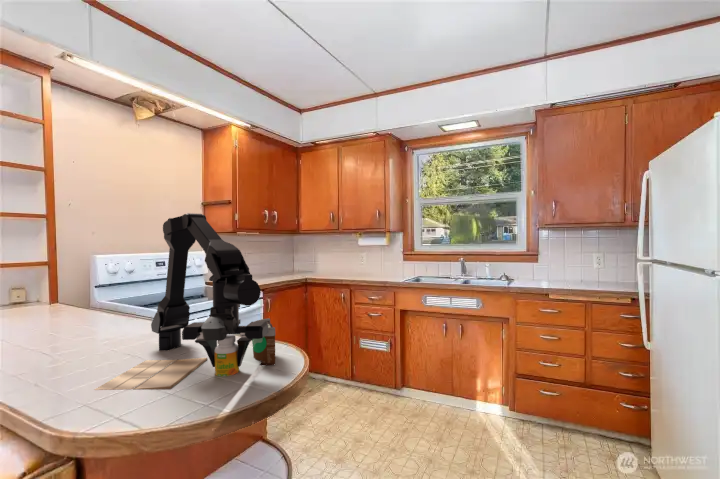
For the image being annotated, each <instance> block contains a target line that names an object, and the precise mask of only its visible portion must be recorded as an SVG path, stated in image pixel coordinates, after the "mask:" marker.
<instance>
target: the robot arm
mask: <svg viewBox="0 0 720 479" xmlns="http://www.w3.org/2000/svg"><path fill="white" fill-rule="evenodd" d="M162 232H163V239H164V241H165V242H166V244H167V246H168V248H169V250H168V251H169V252H168V262H167V273H166V283H165V284H166V285H165V293H164V294H165V296H163V298H162V299H161V300H160V302H159V303H158V304H157V310H156V313H155V314H154V316H153V319H152V321H151V323H150V326H151V327H150V328H151V332H153V333H155V334H158V351H170V350H173V349H177V348H180V347H181V346H182V340H183V341H184V340H185V341H186V340H187V341H189V340H190V341H192V340H193V341H194V342H195V344H199V345H201V346H202V347H203V348H204V351H205V352H206V353H207V358H208V359H209V361H210V363H211V366H212V368H215V348H216V347H217V346H218V341H221V340H224V339H225V338H226V336H227V334H233V335H239V336H240V337H239V338H238V339H237V340H236V344H237V345H238V359H237V362H238V367H239V368H241V365H242V363H243V360H244V359H245V354H246V352H247V350H248V347H249V345H250V343H251V342H252V340H253V339H261V338H263V337H264V336H265V335H266V334H267V333H268V324H267V323H266V321H262V322H254V321H251V322H250V323H248V324H247V325H241V319H240V316H239V315H240V313H239V312H240V310H239V308H241V305H242V306H245V307H247V306H253V305H255V304H256V303H257V302H258V301H259V299H260V296H261V287H260V285H259V283H258V282H257V281H256V280H254V279H253V274H251V272H250V268H249V266H248V264H247V262H246V260H245V258H244V255H243V254H242V252H241V250H240V248H238V247H237V246H235V245H234V244H232V243H230V242H227V241H224V240H223V239H222V238H221V236H220V235H219V233H217V231H216V230H215V228H213V227H212V225H211V224H210V223H209V221H208V220H207V217H206V215H205V214H203V213H195V212H194V213H193V212H192V213H191V212H187V213H184V214H182V215H180V216H176V217H169V218H168V219H167V220H166V221H164V222H163V224H162ZM196 242H197V243H198V244H199V246H200V247H201V248H202V250H203V251H204V253H205V257H204V263H205V264H206V267H207V268H208V271H209V272H210V273H211V275H210V277H209V278H208V280H209V281H210V282H212V306H211V307H210V311H209V312H210V314H209V316H208V317H207V319H206V320H205V321H204V322H201V321H199V322H197V321H196V322H192V323H190V324H189V322H190V316H191V313H190V312H191V311H190V309H191V308H190V305H189V304H188V303H187V301H186V299H185V298H184V297H185V287H186V277H187V276H186V275H187V268H188V266H187V265H188V260H189V258H188V256H189V250H190V249H191V247H193V246H194V244H195V243H196Z"/></svg>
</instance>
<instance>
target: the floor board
mask: <svg viewBox="0 0 720 479" xmlns="http://www.w3.org/2000/svg"><path fill="white" fill-rule="evenodd" d="M174 361H176V359H154V360H153V359H147V360H146V359H145V360H143V361H142V362H140V363H139V364H136V365H135V366H133V367H132V368H129V369H127V370H126V371H124V372H123V373H121V374H120V375H119V374H118V375H117V376H115V377H114V378H112V379H111V380H109V381H107V382H104V383H103V384H102V385H100V386H98V387H96V388H94V389H93V390H95V391H103V390H104V391H107V390H109V391H111V390H134V389H133V388H135V387H136V386H138V385H139V384H141V383H142V382H144V381H145V380H147V379H148V378H150V377H152V376H153V375H155V374H156V373H158V372H159V371H161V370H162V369H164V368H165V367H167V366H168V365H170V364H171V363H173V362H174Z"/></svg>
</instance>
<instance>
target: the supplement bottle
mask: <svg viewBox="0 0 720 479" xmlns="http://www.w3.org/2000/svg"><path fill="white" fill-rule="evenodd" d="M236 341H237V340H236V334H227V336H226V338H225V339H224V340H221V341H218V340H217V347H216V348H215V367H214V375H215V377H216V376H217V377H230V376H234V375H236V374H238V373H239V372H240V367H238V362H237V359H238V343H235V342H236Z"/></svg>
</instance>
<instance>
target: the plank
mask: <svg viewBox="0 0 720 479" xmlns="http://www.w3.org/2000/svg"><path fill="white" fill-rule="evenodd" d="M207 360H208V357H197V358H196V357H195V358H184V359H183V358H182V359H175V361H174V362H172V363H171V364H169V365H168V366H166V367H165V368H163V369H162V370H160V371H159V372H157V373H156V374H154V375H153V376H151V377H149V378H148V379H146V380H145V381H143V382H142V383H140V384H139V385H137V386H136V387H134V388H133V389H132V390H171V389H172V388H173V387H174V386H176V385H177V384H178V383H180V382H181V381H183V379H186V377H187V376H188V375H190V374H191V373H192V372H194V371H195V370H196V369H198V368H199V367H200V366H201V365H202V364H204V363H205V362H207Z"/></svg>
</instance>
